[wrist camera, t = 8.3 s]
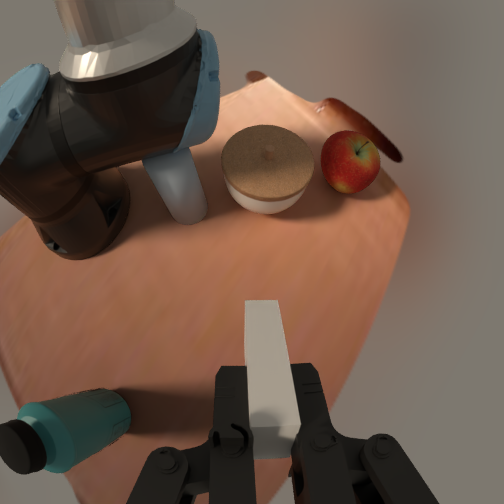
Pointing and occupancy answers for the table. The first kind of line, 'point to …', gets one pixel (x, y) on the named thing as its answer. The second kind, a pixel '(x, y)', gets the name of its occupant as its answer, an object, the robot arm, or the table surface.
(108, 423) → the beverage bottle
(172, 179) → the post
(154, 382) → the table surface
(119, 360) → the table surface
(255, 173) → the lidded jar
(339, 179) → the apple
